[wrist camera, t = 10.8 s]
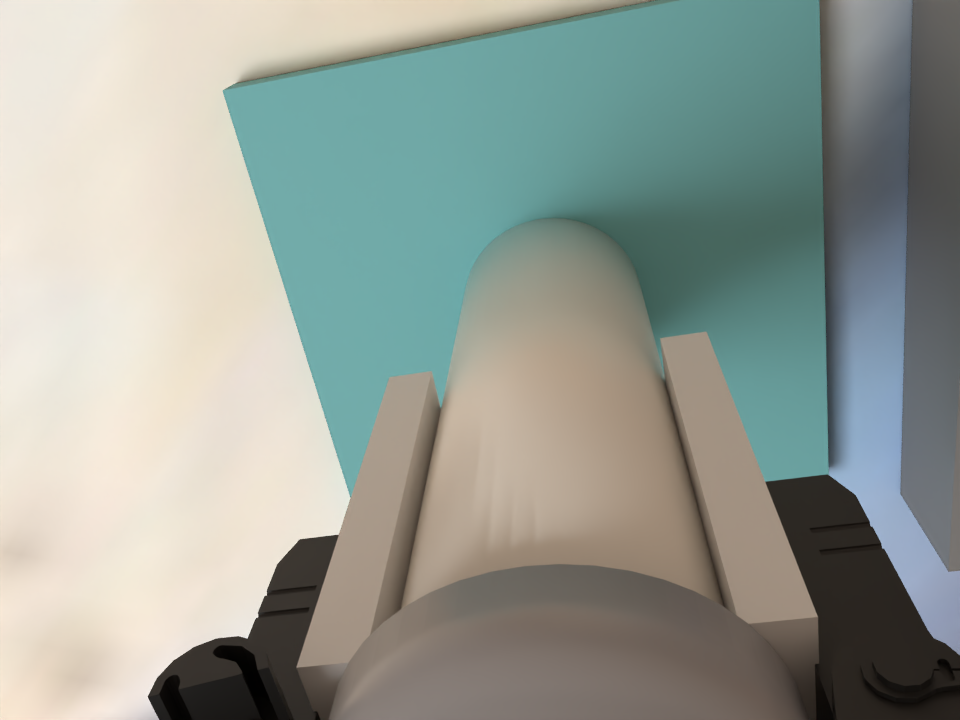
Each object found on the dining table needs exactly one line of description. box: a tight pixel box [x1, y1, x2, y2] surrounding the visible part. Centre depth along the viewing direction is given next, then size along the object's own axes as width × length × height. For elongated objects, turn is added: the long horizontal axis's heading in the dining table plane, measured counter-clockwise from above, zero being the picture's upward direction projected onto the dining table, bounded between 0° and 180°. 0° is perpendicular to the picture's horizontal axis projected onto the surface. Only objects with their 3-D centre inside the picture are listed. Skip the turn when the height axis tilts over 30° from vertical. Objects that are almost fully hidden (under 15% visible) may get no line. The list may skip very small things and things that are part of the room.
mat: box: [223, 0, 829, 497], centre depth 20 cm, size 12×12×1 cm
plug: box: [329, 218, 809, 720], centre depth 14 cm, size 5×5×14 cm
